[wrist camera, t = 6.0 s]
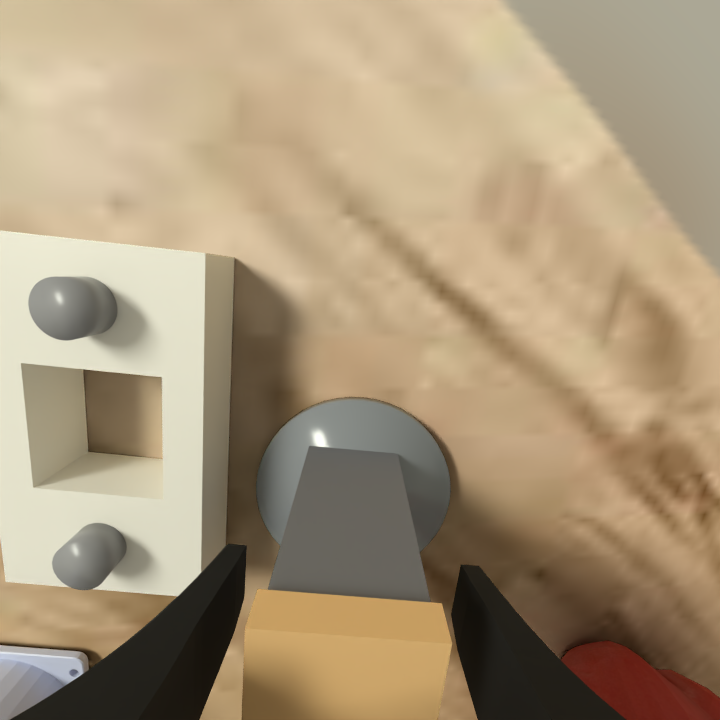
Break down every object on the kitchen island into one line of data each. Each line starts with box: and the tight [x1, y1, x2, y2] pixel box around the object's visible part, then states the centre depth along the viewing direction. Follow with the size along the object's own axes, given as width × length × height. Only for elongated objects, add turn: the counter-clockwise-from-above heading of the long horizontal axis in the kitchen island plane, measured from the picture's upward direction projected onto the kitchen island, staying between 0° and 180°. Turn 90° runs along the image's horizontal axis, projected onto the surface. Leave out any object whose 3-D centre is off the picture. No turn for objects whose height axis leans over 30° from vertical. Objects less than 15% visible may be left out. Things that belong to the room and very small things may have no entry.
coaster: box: [256, 397, 451, 552], centre depth 17 cm, size 9×9×1 cm
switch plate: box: [0, 231, 235, 596], centre depth 15 cm, size 14×8×4 cm, turn 174°
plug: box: [242, 446, 452, 720], centre depth 13 cm, size 4×4×9 cm
